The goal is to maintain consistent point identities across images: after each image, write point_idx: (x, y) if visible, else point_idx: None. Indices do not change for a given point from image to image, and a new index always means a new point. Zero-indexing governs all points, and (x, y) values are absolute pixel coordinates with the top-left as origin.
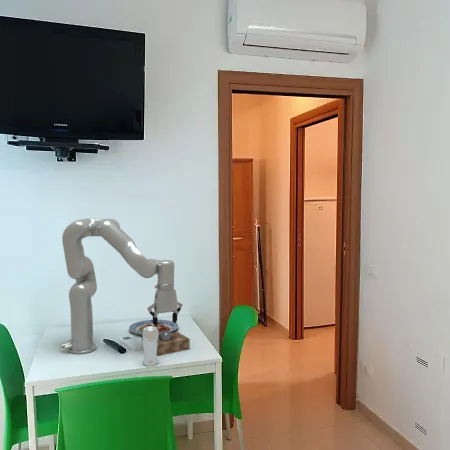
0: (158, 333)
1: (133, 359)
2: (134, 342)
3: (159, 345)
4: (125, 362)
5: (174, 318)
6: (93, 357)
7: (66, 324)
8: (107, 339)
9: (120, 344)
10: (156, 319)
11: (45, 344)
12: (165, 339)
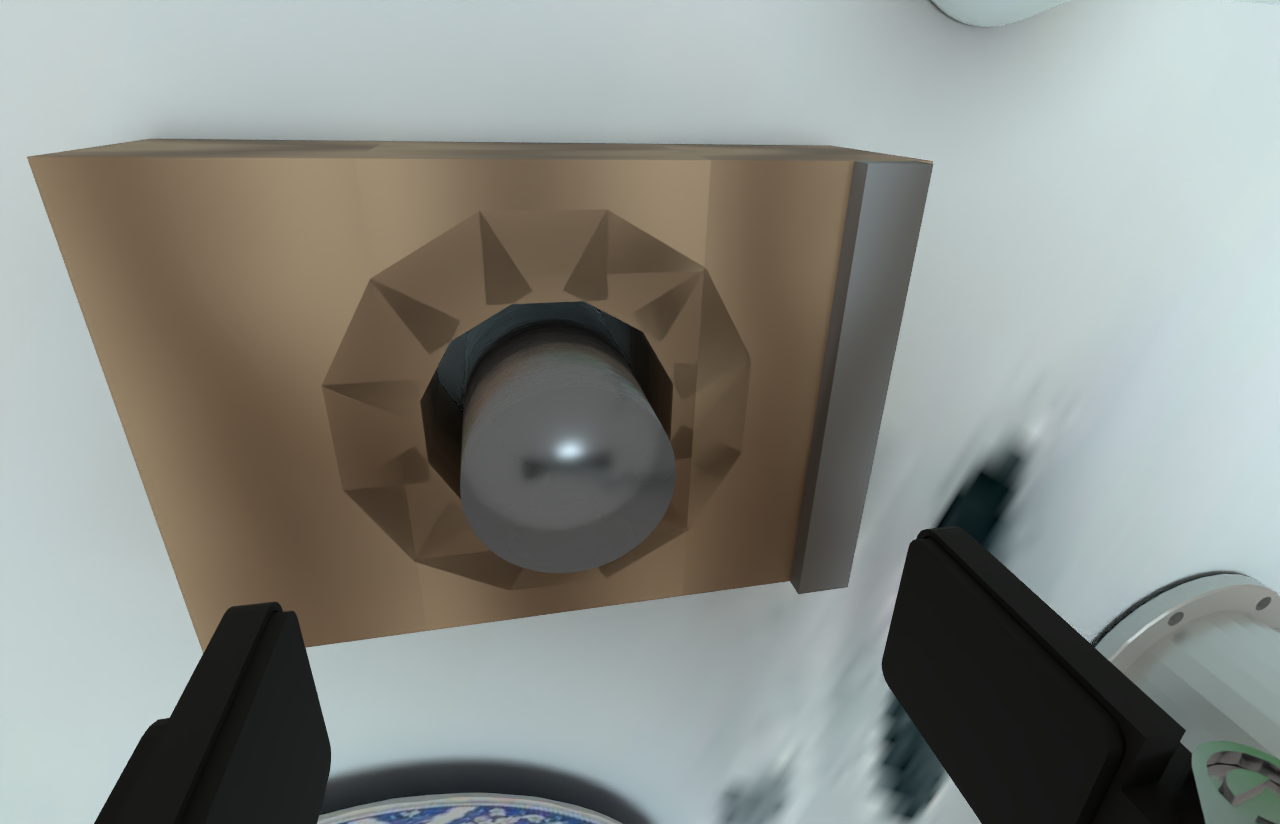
0: (455, 802)
1: (1057, 203)
2: (756, 688)
3: (809, 159)
4: (1173, 157)
5: (261, 773)
6: (1239, 463)
7: None
8: (899, 807)
9: None
10: (1102, 662)
11: None
12: (605, 349)
